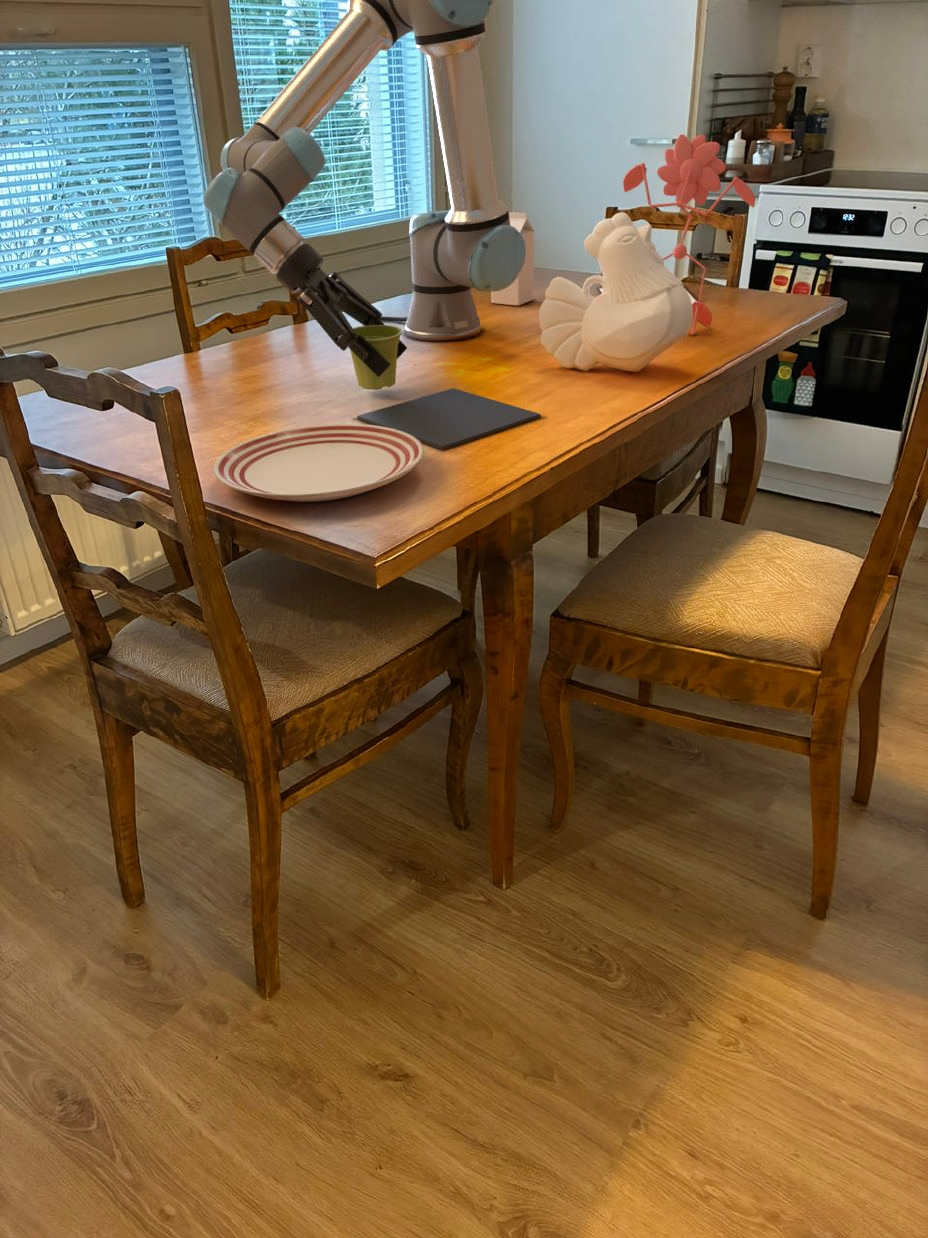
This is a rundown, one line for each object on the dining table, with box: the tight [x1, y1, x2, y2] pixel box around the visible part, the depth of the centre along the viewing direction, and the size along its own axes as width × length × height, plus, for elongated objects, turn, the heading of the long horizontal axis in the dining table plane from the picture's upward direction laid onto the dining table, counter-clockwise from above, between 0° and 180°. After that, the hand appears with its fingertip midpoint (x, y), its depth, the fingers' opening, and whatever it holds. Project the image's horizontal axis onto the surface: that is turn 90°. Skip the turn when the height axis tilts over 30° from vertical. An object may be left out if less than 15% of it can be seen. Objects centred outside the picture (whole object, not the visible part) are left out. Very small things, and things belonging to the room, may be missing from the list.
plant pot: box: [349, 324, 403, 391], centre depth 156 cm, size 9×9×9 cm
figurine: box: [622, 134, 756, 338], centre depth 187 cm, size 15×26×35 cm, turn 64°
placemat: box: [356, 387, 542, 451], centre depth 148 cm, size 20×20×1 cm
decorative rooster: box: [538, 211, 694, 373], centre depth 166 cm, size 25×16×25 cm
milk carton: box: [490, 211, 535, 307], centre depth 215 cm, size 7×7×19 cm
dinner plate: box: [213, 423, 425, 503], centre depth 127 cm, size 27×27×3 cm
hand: (393, 362), depth 156 cm, fingers closed on plant pot, 9 cm apart
